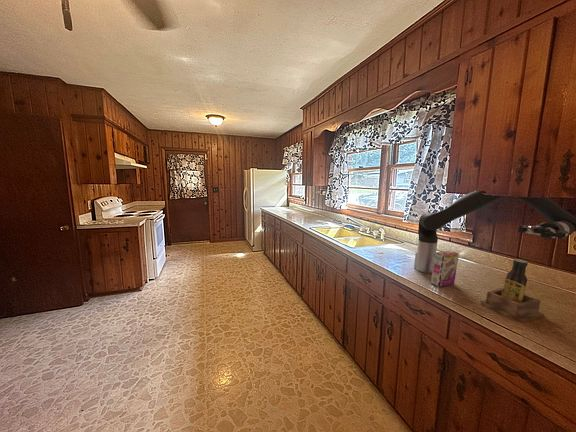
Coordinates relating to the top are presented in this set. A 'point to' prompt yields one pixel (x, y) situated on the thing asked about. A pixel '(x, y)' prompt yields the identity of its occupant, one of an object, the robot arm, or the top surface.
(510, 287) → the sauce bottle
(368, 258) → the top surface
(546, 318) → the top surface
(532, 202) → the robot arm
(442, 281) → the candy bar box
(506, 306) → the walnut caddy
